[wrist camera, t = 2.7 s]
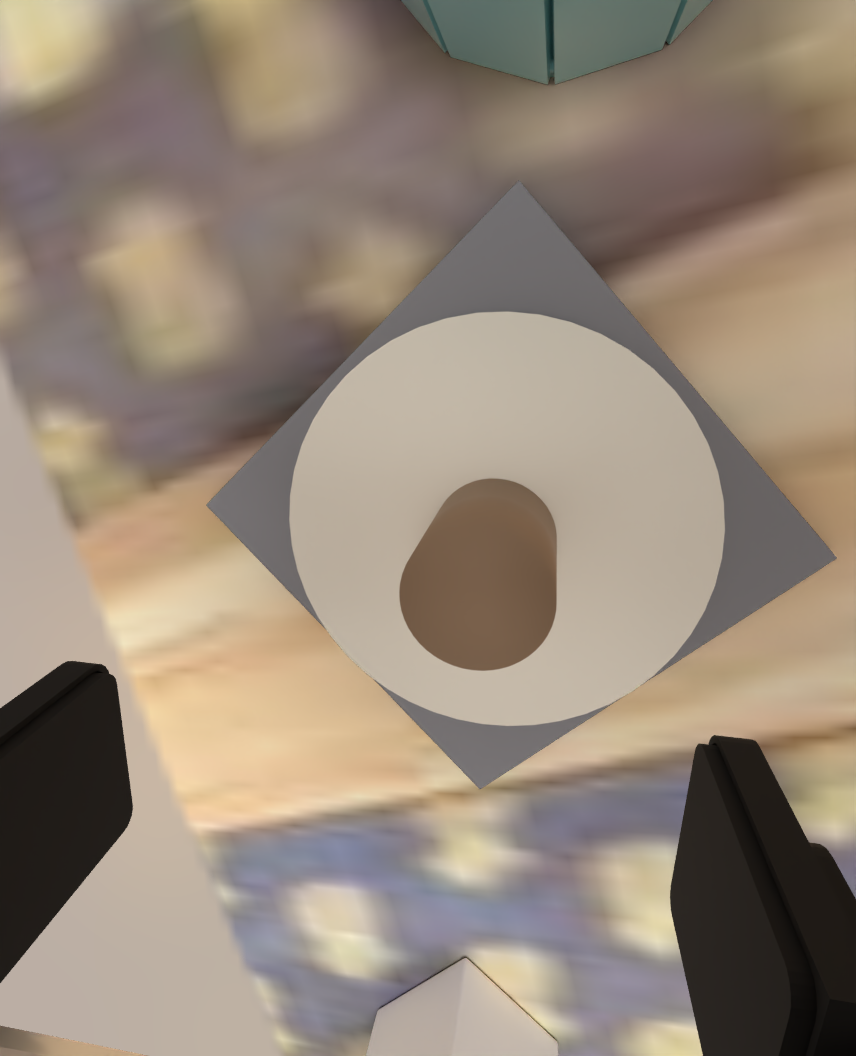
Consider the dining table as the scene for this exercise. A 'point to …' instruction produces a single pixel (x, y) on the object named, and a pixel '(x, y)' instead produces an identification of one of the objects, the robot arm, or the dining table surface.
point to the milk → (457, 1020)
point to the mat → (585, 299)
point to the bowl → (553, 32)
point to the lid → (507, 518)
